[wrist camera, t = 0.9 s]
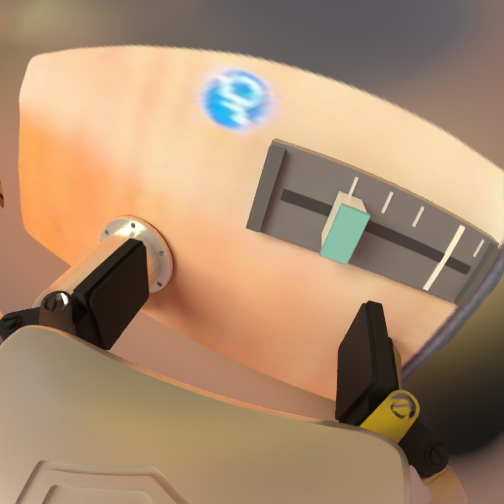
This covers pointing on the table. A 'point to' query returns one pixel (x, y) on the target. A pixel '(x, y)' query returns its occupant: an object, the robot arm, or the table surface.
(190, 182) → the table surface
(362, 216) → the fader knob
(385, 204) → the console board
